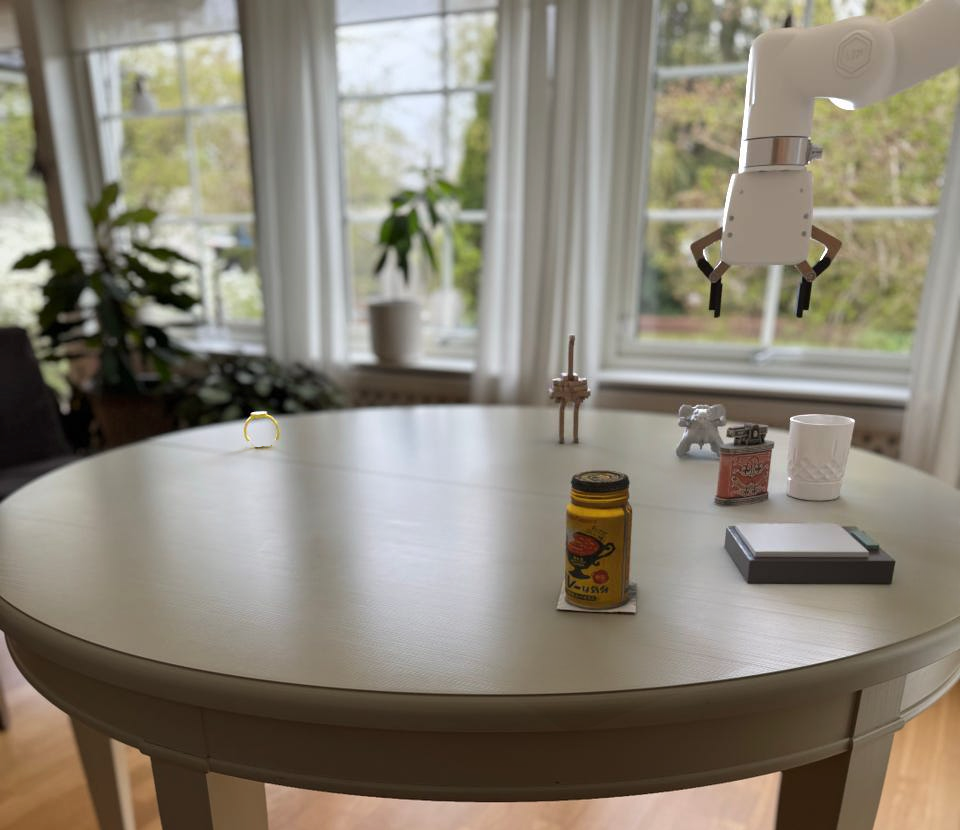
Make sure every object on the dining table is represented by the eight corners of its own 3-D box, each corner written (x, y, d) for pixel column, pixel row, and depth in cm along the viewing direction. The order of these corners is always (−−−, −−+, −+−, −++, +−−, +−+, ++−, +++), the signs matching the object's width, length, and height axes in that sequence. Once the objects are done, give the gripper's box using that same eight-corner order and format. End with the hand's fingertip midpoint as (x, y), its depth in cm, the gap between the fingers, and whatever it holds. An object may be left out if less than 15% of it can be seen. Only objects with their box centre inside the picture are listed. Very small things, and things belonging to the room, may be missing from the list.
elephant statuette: (681, 462, 138) (684, 412, 135) (658, 447, 149) (661, 400, 146) (738, 460, 139) (743, 410, 136) (711, 445, 150) (715, 399, 147)
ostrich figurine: (589, 445, 152) (593, 335, 144) (550, 446, 152) (552, 335, 144) (578, 427, 167) (580, 327, 160) (542, 428, 167) (543, 327, 160)
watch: (281, 444, 157) (277, 410, 155) (281, 447, 155) (277, 412, 152) (246, 446, 156) (242, 412, 154) (246, 449, 154) (241, 414, 151)
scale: (852, 546, 98) (856, 520, 97) (891, 584, 87) (896, 555, 86) (724, 546, 99) (726, 520, 98) (747, 583, 88) (750, 554, 87)
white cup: (837, 505, 114) (849, 426, 110) (775, 498, 118) (784, 422, 114) (848, 491, 120) (859, 416, 116) (788, 485, 124) (797, 412, 120)
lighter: (756, 494, 120) (764, 419, 116) (774, 499, 117) (783, 423, 113) (708, 501, 117) (715, 424, 113) (725, 507, 114) (733, 428, 110)
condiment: (556, 611, 82) (558, 483, 77) (564, 580, 90) (566, 462, 85) (635, 614, 81) (643, 485, 76) (636, 583, 88) (643, 464, 84)
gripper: (849, 159, 103) (828, 315, 110) (697, 164, 107) (686, 315, 114) (858, 153, 96) (835, 319, 103) (695, 159, 100) (683, 319, 107)
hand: (757, 317), depth 109 cm, fingers open, 9 cm apart
